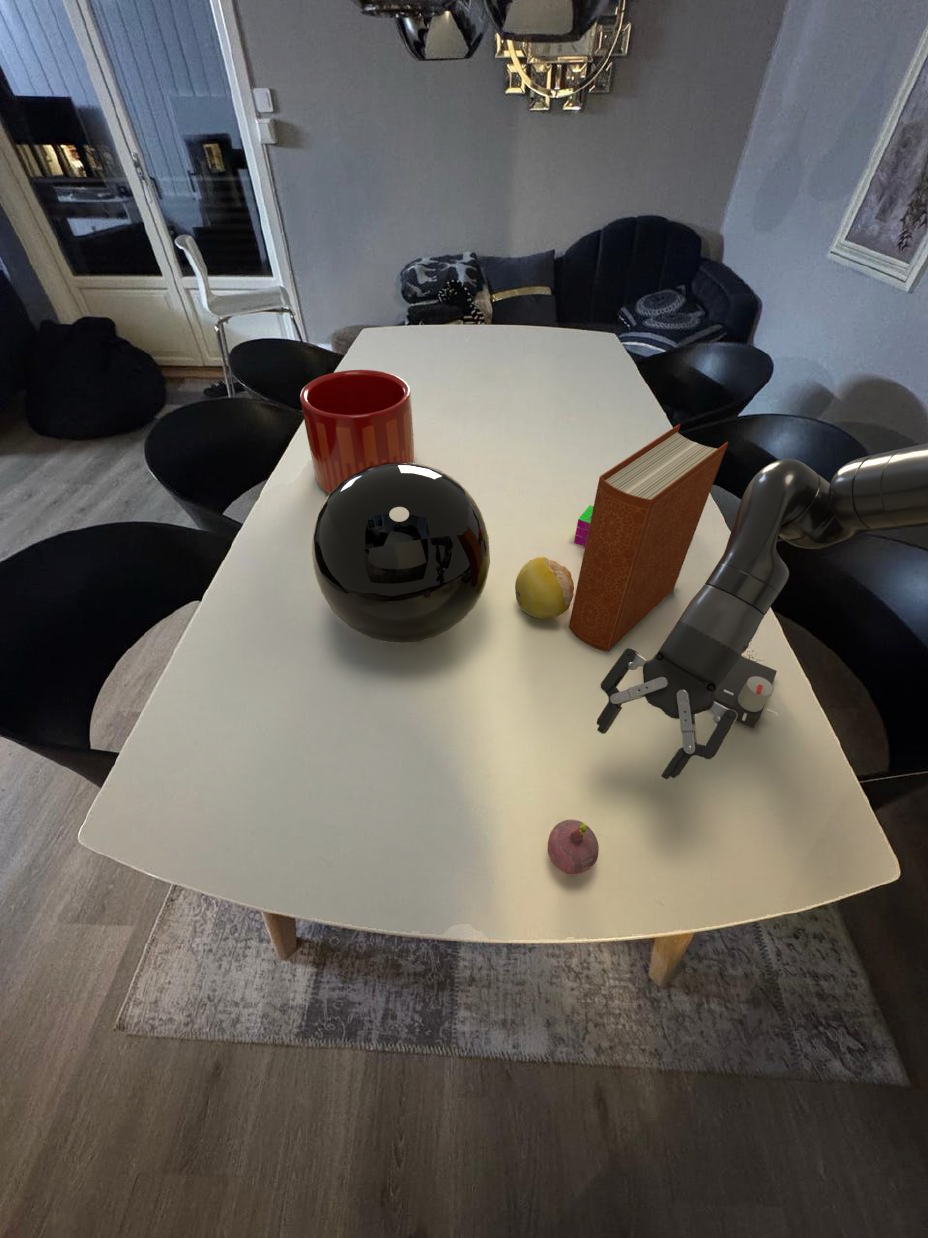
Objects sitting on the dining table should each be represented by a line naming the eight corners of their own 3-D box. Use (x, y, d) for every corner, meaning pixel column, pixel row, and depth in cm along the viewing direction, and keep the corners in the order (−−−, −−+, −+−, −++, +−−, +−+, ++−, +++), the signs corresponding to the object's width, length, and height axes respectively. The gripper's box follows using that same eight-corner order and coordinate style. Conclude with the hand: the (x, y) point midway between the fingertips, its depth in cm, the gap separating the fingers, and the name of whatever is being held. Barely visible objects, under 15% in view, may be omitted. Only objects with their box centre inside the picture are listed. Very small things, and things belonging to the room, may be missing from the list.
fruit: (539, 638, 97) (546, 595, 90) (501, 602, 103) (504, 560, 96) (582, 614, 102) (592, 572, 94) (543, 581, 108) (549, 539, 101)
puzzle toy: (610, 536, 118) (616, 513, 114) (600, 551, 114) (605, 528, 110) (584, 528, 120) (589, 504, 116) (573, 542, 116) (578, 518, 112)
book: (635, 569, 110) (679, 423, 89) (673, 589, 106) (728, 442, 85) (564, 630, 99) (594, 479, 77) (604, 655, 95) (647, 503, 73)
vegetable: (565, 895, 68) (578, 862, 61) (533, 852, 72) (542, 816, 64) (602, 867, 70) (619, 832, 63) (569, 826, 74) (582, 789, 67)
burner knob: (740, 689, 87) (750, 671, 84) (764, 698, 86) (776, 681, 83) (735, 705, 85) (745, 688, 82) (760, 716, 84) (771, 698, 80)
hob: (783, 685, 91) (790, 675, 89) (763, 742, 83) (771, 732, 81) (674, 639, 98) (678, 628, 96) (647, 688, 90) (651, 677, 88)
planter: (322, 452, 140) (307, 369, 126) (415, 450, 141) (411, 368, 127) (310, 505, 124) (291, 417, 110) (415, 503, 125) (410, 415, 111)
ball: (320, 577, 108) (289, 441, 88) (462, 554, 113) (464, 421, 93) (336, 692, 89) (302, 552, 69) (506, 658, 94) (520, 518, 74)
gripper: (647, 598, 63) (571, 718, 66) (772, 667, 57) (683, 799, 59) (660, 608, 70) (590, 717, 72) (773, 671, 63) (692, 789, 65)
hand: (632, 754), depth 66 cm, fingers open, 8 cm apart
